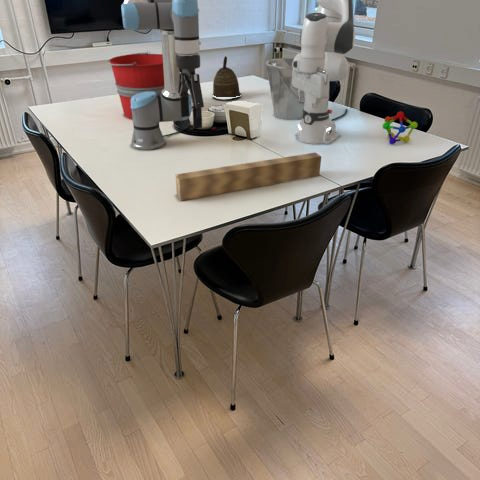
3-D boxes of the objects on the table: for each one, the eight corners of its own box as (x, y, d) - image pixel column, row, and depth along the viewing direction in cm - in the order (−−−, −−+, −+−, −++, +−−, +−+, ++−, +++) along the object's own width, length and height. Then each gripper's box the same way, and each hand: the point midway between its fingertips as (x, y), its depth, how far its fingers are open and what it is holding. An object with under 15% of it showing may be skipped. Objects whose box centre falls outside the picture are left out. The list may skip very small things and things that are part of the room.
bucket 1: (123, 104, 265) (116, 50, 249) (181, 105, 264) (178, 51, 248) (106, 122, 236) (97, 62, 220) (172, 123, 235) (167, 63, 219)
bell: (227, 105, 294) (202, 96, 282) (238, 66, 289) (213, 55, 277) (243, 108, 280) (217, 98, 268) (255, 66, 275) (229, 55, 263)
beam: (180, 200, 158) (179, 179, 154) (176, 195, 162) (175, 174, 158) (319, 175, 178) (321, 156, 173) (313, 171, 181) (315, 152, 177)
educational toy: (377, 146, 209) (379, 114, 202) (384, 138, 219) (386, 107, 211) (411, 149, 202) (415, 116, 195) (417, 141, 212) (420, 109, 204)
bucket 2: (291, 126, 231) (295, 70, 216) (253, 114, 250) (254, 61, 235) (328, 115, 248) (333, 63, 233) (289, 104, 267) (292, 55, 252)
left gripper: (213, 60, 128) (214, 131, 139) (187, 47, 147) (190, 110, 159) (188, 62, 126) (192, 134, 137) (165, 48, 145) (170, 113, 156)
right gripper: (336, 70, 148) (331, 111, 155) (305, 59, 164) (302, 97, 171) (319, 72, 146) (315, 113, 153) (290, 60, 162) (287, 99, 169)
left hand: (191, 122), depth 148 cm, fingers open, 13 cm apart
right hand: (308, 105), depth 162 cm, fingers open, 8 cm apart
